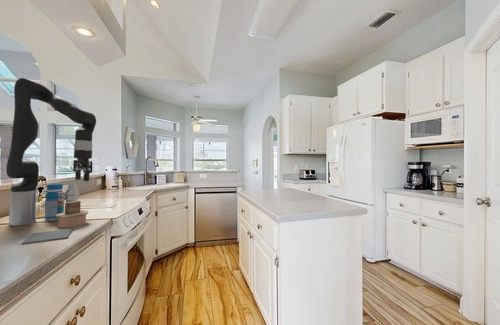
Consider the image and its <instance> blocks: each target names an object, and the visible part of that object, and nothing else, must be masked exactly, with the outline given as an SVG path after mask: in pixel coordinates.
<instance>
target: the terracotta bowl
mask: <svg viewBox="0 0 500 325" xmlns="http://www.w3.org/2000/svg"><path fill="white" fill-rule="evenodd" d="M86 224H87V214H86V215H83V216H78V217H71V218H59V219H58V228H65V229H68V228H71V227H74V228H75V227H79V226H82V225H86Z"/></svg>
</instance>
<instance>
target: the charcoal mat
mask: <svg viewBox="0 0 500 325" xmlns="http://www.w3.org/2000/svg"><path fill="white" fill-rule="evenodd" d="M73 230H74V229H73V228H65V229H56V230H48V231H41V232H33V233H31V234H30V235H29V236H28V237H27V238H26V239H24V240H23V242H21V245H28V244H36V243H44V242H51V241H57V240H59V241H60V240H65V239H69V236H70V234H72V231H73Z"/></svg>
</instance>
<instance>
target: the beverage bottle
mask: <svg viewBox="0 0 500 325" xmlns="http://www.w3.org/2000/svg"><path fill="white" fill-rule="evenodd" d="M63 184H64V183H47V184H46V190H47V192H46V194H45V195H44V196H45V197H44V198H45V199H44V220H46V221H55V220H59V218H58V217H56V215H57V214H59V213H63V212H65V192H63V188H64V185H63Z"/></svg>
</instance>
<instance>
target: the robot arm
mask: <svg viewBox="0 0 500 325" xmlns="http://www.w3.org/2000/svg"><path fill="white" fill-rule="evenodd" d="M13 95H14V111H13V112H14V113H13V122H12V123H13V124H12V129H11V130H12V132H11V143H10V150H9V154H8V158H7V163H6V168H5V169H6V170H5V171H6V172H5V173H6V176H7V177H8V178H10V179H22V181H20V182H19V183H16V184H14V185H12V186H11V187H10V206H8V207H9V208H8V212H9V213H8V225H10V226H13V227H14V226H16V227H17V226H26V225H31V224H34V223H36V222H37V220H36V218H37V217H36V215H37V187H38V184H39V176H40V175H39V172H40V169H39V167H40V166H39V164H38V163H37V162H36V161H35V160H23V158H24V155H25V153H26V151H27V150H28V148H29V147H30V146H31V145H32V144H33V143H35V141H36V140H37V138H38V134H39V123H38V120H37V118H36V116H35V114H34V112H33V109H32V106H31V105H32V102H31V101H32V100H37V101H40V102H44V103H46V104H48V105H50V106H51V107H52V109H54V110H55V111H57V112H58V113H60V114H62V115H64V116H65V117H67V118H69V119H70V120H71V121H73V123H76V124H79V125H81V127H80V128H79V129H76V130H75V135H74V136H75V137H74V139H75V140H74V144H73V145H74V146H73V147H74V148H73V165H72V168H73V169H72V171H73V172H74V174H75V179H74V180H77V181H79V180H81V179H82V177H81V176H82V172H83V182H89V181H90V174H91V173H93V161H92V160H91V159H93V133H94V130H95V127H96V125H97V118H96V116H95V114H93V113H92V112H89V111H85V110H82V109H80V108H79V107H78V106H76V105H75V104H73V103H72V102H70V101H68V100H67V99H64V98H62V97H60V96H58V95H57V94H56V93H54V92H53V91H51V90H50V89H48V88H47V87H46V86H45V85H43V84H41V82H38V81H34V80H32V79H29V78H26V77H20V78H17V80H16V81H15V83H14V91H13Z"/></svg>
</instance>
